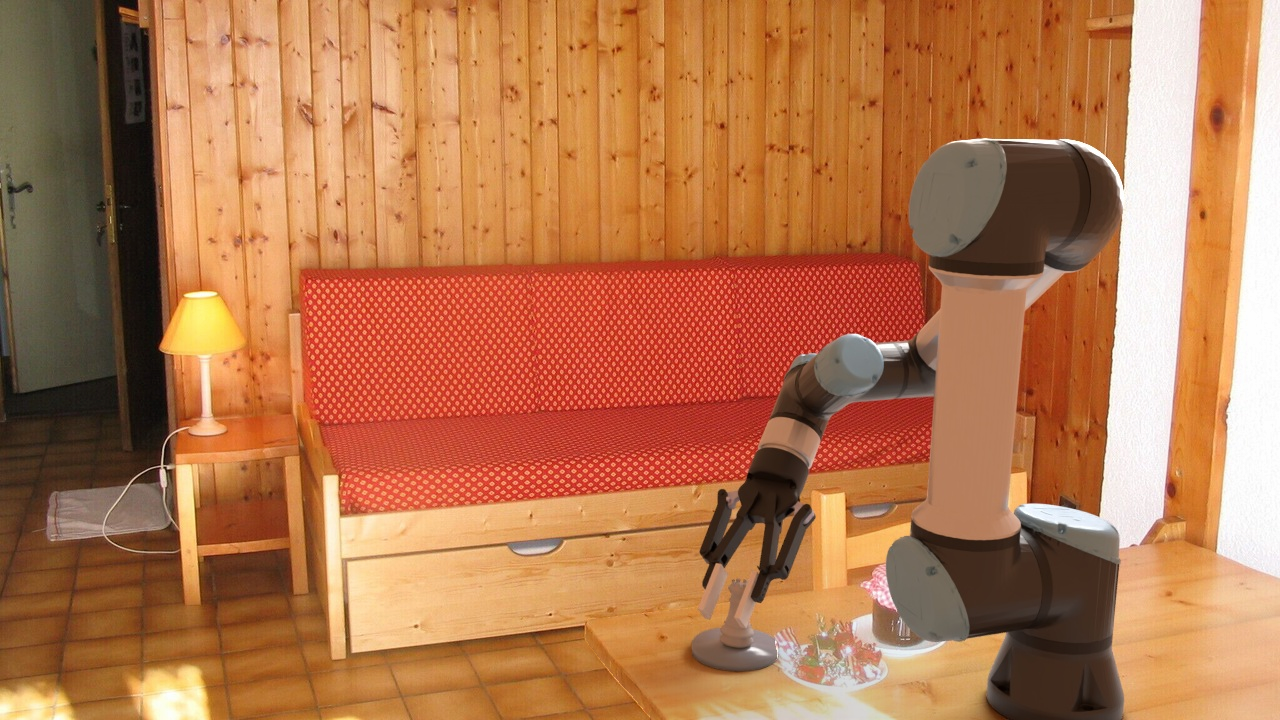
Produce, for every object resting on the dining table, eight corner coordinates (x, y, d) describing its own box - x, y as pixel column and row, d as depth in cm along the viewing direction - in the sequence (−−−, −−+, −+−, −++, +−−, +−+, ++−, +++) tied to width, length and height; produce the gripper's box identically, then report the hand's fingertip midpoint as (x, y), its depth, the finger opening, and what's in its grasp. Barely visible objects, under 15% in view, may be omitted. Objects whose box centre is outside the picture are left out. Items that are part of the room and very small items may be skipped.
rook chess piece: (731, 633, 164) (737, 573, 163) (760, 643, 162) (766, 583, 160) (711, 641, 161) (716, 580, 160) (740, 651, 158) (746, 590, 157)
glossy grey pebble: (792, 647, 163) (793, 638, 163) (754, 678, 154) (754, 669, 154) (717, 629, 169) (717, 620, 169) (675, 658, 160) (675, 649, 160)
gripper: (852, 484, 166) (794, 646, 156) (733, 465, 175) (671, 617, 164) (837, 454, 161) (777, 620, 150) (715, 435, 170) (650, 591, 159)
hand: (722, 618), depth 157 cm, fingers open, 4 cm apart
